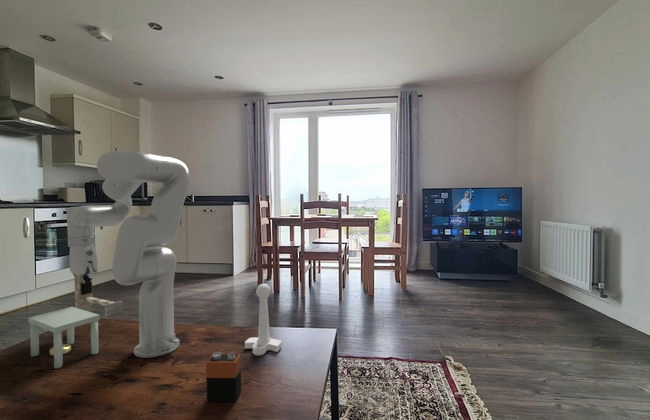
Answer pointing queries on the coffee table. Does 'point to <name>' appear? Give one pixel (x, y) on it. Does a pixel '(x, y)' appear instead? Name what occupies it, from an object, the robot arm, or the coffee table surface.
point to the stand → (59, 323)
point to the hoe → (94, 299)
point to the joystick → (263, 326)
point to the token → (65, 349)
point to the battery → (223, 377)
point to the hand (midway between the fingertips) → (83, 292)
